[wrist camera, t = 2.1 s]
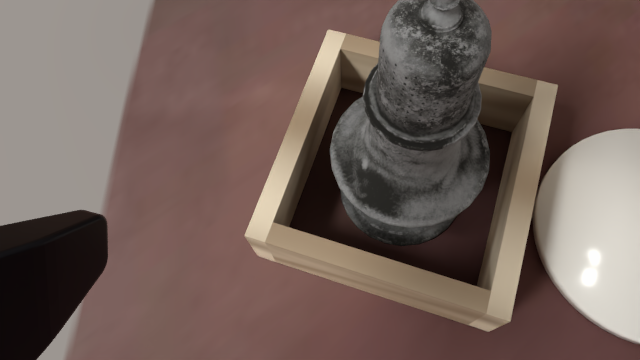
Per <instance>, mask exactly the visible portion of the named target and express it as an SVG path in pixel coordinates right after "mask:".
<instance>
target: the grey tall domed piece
mask: <svg viewBox="0 0 640 360" xmlns="http://www.w3.org/2000/svg"><path fill="white" fill-rule="evenodd" d="M490 50H491V28H490V24H489V20H488V18H487V17H486V15H485V13H484V12H483V10H482V9H481V8H480V6H479V5H478V4H477V3H476V2H474V1H473V0H399V1H398V2H397V3H396V4H395V5H394V6H393V7H392V8H391V9H390V11H389V13H388V15H387V17H386V19H385V21H384V23H383V26H382V29H381V36H380V45H379V58H378V63H377V64H376V65H375V67H374V68H373V69H372V70H371V71H370V74H369V76H368V78H367V80H366V82H365V86H364V92H363V97H361V98H359V99H358V100H356V101H355V102H354V103H353V104H352V105H351V106H350V107H349V108H348V109H347V110H346V111H345V112H344V113H343V115H342V116H341V118H340V120H339V122H338V124H337V125H336V127H335V129H334V131H333V136H332V141H331V147H330V156H331V166H332V171H333V174H334V176H335V179H336V181H337V183H338V186H339V188H340V191H341V200H342V203H343V205H344V208H345V210H346V213H347V215H348V216H349V217H350V219H351V220H352V221H353V222H354V224H355V225H356V226H357V227H358V228H359V229H360V230H362V231H363V232H364V233H365V234H367V235H368V236H369V237H371V238H374V239H376V240H378V241H381V242H383V243H386V244H393V245H399V246H406V245H416V244H421V243H423V242H426V241H429V240H431V239H434V238H435V237H437V236H438V235H439V234H441V233H442V232H443V231H445V230H446V229H447V228H448V227H449V226H450V224H451V223H452V222H453V220H454V219H455V218H456V216H457V215H458V214H459V213H461V212H462V211H463V210H465V209H466V208H468V207H469V206H470V205H471V203H472V202H473V201H474V199H475V198H476V197H477V196H478V194H479V193H480V192H481V190H482V188H483V186H484V183H485V180H486V178H487V175H488V172H489V162H490V150H489V146H488V142H487V137H486V134H485V132H484V130H483V128H482V126H481V125H480V123H479V121H478V116H479V114H480V111H481V101H482V95H481V91H480V87H479V83H478V81H479V78H480V76H481V73H482V71H483V68H484V66H485V63H486V61H487V58H488V56H489V53H490Z"/></svg>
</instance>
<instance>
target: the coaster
mask: <svg viewBox="0 0 640 360" xmlns="http://www.w3.org/2000/svg"><path fill="white" fill-rule="evenodd" d="M533 233H534V239H535V244H536V247H537V251H538V254H539V257H540V259H541V261H542V264H543V266H544V268H545V270H546V272H547V274H548V275H549V277H550V279H551V280H552V282H553V284H554V285H555V286H556V288H557V289H558V290H559V292H560V293H561V294H562V296H563V297H564V298H565V299H566V300H567V301H568V302H569V303H570V304H571V305H572V306H573V307H574V308H575V309H576V310H577V311H578V312H579V313H581V314H582V315H583V316H584V317H585V318H587V319H588V320H589V321H591V322H592V323H594V324H595V325H597V326H598V327H600V328H601V329H603V330H605V331H607V332H609V333H611V334H613V335H615V336H617V337H619V338H621V339H624V340H627V341H629V342H632V343H635V344H639V345H640V129H618V130H611V131H606V132H602V133H599V134H595V135H593V136H590V137H588V138H586V139H583V140H582V141H580V142H578V143H576V144H575V145H573V146H572V147H570V148H569V149H568V150H567V151H565V152H564V153H563V154H562V155H561V156H560V157H559V158H558V159H557V161H556V162H555V163H554V164H553V165H552V166H551V167H550V168H549V170H548V171H547V173H546V174H545V176H544V177H543V179H542V181H541V183H540V186H539V188H538V190H537V194H536V197H535V202H534V207H533Z"/></svg>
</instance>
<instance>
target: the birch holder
mask: <svg viewBox="0 0 640 360" xmlns="http://www.w3.org/2000/svg"><path fill="white" fill-rule="evenodd" d="M379 45H380V42H378V41H374V40H370V39H366V38H362V37H357V36H353V35H349V34H345V33H341V32H337V31H333V30H329V29H328V31H327V34H326V36H325V39H324V41H323V43H322V46H321V48H320V51H319V53H318V56H317V58H316V61H315V63H314V66H313V68H312V71H311V73H310V76H309V78H308V80H307V83H306V85H305V88H304V90H303V93H302V95H301V98H300V100H299V103H298V105H297V108H296V110H295V112H294V115H293V117H292V120H291V122H290V125H289V127H288V130H287V132H286V135H285V137H284V140H283V142H282V145H281V147H280V149H279V152H278V154H277V157H276V159H275V162H274V164H273V167H272V169H271V172H270V174H269V177H268V179H267V182H266V184H265V186H264V189H263V191H262V194H261V196H260V199H259V201H258V204H257V206H256V209H255V211H254V214H253V216H252V219H251V221H250V223H249V226H248V228H247V231H246V233H245V237H246V239H247V240H248V242H249V243H250V245H251V246H252V248H253V249H254V251H255V252H256V254H257V255H258V256H259V257H262V258H265V259H268V260H272V261H275V262H278V263H281V264H284V265H287V266H290V267H293V268H296V269H299V270H302V271H305V272H308V273H311V274H314V275H317V276H320V277H323V278H326V279H329V280H332V281H335V282H338V283H342V284H345V285H348V286H351V287H354V288H357V289H360V290H363V291H366V292H369V293H372V294H375V295H378V296H381V297H384V298H387V299H390V300H393V301H396V302H399V303H402V304H405V305H409V306H412V307H415V308H418V309H421V310H424V311H427V312H430V313H433V314H436V315H439V316H442V317H445V318H448V319H451V320H454V321H457V322H460V323H463V324H466V325H469V326H472V327H475V328H479V329H482V330H485V331H488V332H489V331H491V330H493V329H495V328H498V327H500V326H502V325H504V324H506V323H508V322H510V321H511V316H512V311H513V306H514V301H515V296H516V291H517V286H518V281H519V277H520V272H521V267H522V262H523V257H524V252H525V247H526V242H527V237H528V232H529V227H530V222H531V217H532V212H533V207H534V202H535V197H536V192H537V187H538V182H539V177H540V172H541V167H542V162H543V157H544V152H545V148H546V143H547V138H548V133H549V128H550V123H551V118H552V113H553V108H554V103H555V98H556V93H557V88H558V85H556V84H552V83H548V82H543V81H539V80H535V79H531V78H527V77H523V76H519V75H515V74H510V73H506V72H502V71H498V70H494V69H490V68H486V67H484V68H483V71H482V73H481V76H480V78H479V81H478V83H479V87H480V91H481V95H482V101H481V111H480V114H479V116H478V121H479V123H480V124H483V125H486V126H490V127H494V128H498V129H502V130H506V131H509V132H512V135H511V139H510V144H509V148H508V152H507V157H506V161H505V165H504V170H503V174H502V178H501V183H500V187H499V191H498V196H497V200H496V205H495V209H494V213H493V218H492V222H491V226H490V231H489V235H488V239H487V244H486V248H485V252H484V257H483V261H482V265H481V270H480V274H479V278H478V283H477V286H474V285H471V284H467V283H464V282H461V281H458V280H455V279H452V278H448V277H445V276H442V275H439V274H436V273H433V272H429V271H426V270H423V269H420V268H417V267H413V266H410V265H407V264H404V263H401V262H398V261H394V260H391V259H388V258H385V257H382V256H379V255H375V254H372V253H369V252H366V251H363V250H359V249H356V248H353V247H350V246H347V245H344V244H340V243H337V242H334V241H331V240H328V239H325V238H321V237H318V236H315V235H312V234H309V233H305V232H302V231H299V230H296V229H293V228H290V227H289V226H290V223H291V221H292V218H293V215H294V213H295V210H296V207H297V205H298V202H299V199H300V197H301V194H302V191H303V189H304V186H305V183H306V181H307V178H308V175H309V173H310V170H311V167H312V165H313V162H314V159H315V157H316V154H317V151H318V149H319V146H320V143H321V141H322V138H323V135H324V133H325V130H326V127H327V125H328V122H329V119H330V117H331V114H332V111H333V109H334V106H335V103H336V101H337V98H338V95H339V93H340V90H341V88H345V89H348V90H352V91H356V92H360V93H363V92H364V86H365V82H366V80H367V78H368V76H369V74H370V71H371V70H372V69H373V68H374V67H375V65H376V64H377V63H378V58H379Z"/></svg>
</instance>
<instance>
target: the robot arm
mask: <svg viewBox="0 0 640 360" xmlns="http://www.w3.org/2000/svg"><path fill="white" fill-rule="evenodd" d="M107 259H108V233H107V221H106V218H105V217H104V216H103V215H100V214H97V213H93V212H89V211H85V210H77V211H72V212H67V213H62V214H57V215H52V216H47V217H42V218H37V219H32V220H27V221H22V222H17V223H12V224H7V225H3V226H0V360H36V359H37V358H38V357H39V356H40V355H41V354H42V353H43V351H44V350H45V349H46V348H47V347H48V346H49V344H50V343H51V342H52V341H53V339H54V338H55V337H56V335H57V334H58V333H59V332H60V330H61V329H62V328H63V326H64V325H65V323H66V322H67V321H68V319H69V318H70V317H71V315H72V314H73V312H74V311H75V310H76V308H77V307H78V305H79V304H80V303H81V301H82V300H83V299H84V297H85V296H86V294H87V293H88V292H89V290H90V289H91V287H92V286H93V285H94V283H95V282H96V281H97V279H98V278H99V276H100V275H101V274H102V272H103V271H104V269H105V267H106V264H107Z"/></svg>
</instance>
